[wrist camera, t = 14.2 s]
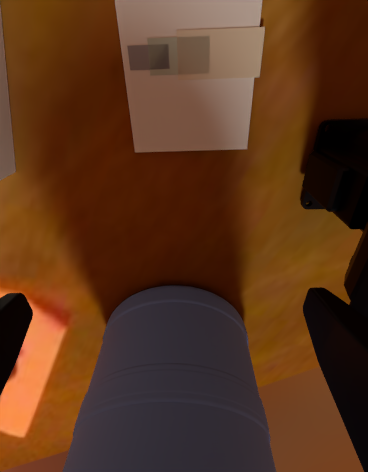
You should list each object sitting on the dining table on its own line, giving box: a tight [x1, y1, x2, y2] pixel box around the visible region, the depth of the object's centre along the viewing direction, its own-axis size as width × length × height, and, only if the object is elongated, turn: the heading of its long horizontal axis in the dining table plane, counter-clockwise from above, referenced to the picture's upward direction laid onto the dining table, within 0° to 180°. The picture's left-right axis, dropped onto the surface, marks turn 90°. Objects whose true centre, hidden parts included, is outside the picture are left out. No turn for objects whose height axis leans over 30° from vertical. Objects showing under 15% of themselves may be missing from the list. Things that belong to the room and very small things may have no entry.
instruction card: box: [115, 0, 265, 152], centre depth 15 cm, size 8×11×1 cm
